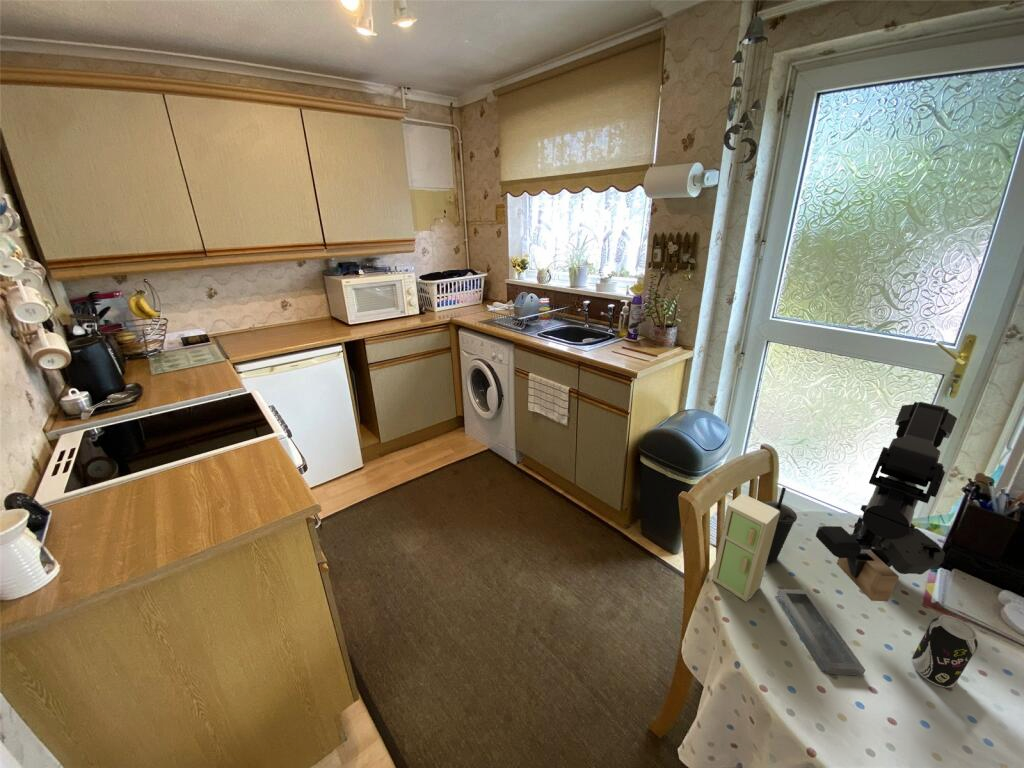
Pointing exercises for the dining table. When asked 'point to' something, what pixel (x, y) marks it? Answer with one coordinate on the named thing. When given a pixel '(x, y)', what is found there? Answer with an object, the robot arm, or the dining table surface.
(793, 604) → the frame
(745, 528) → the toy refrigerator
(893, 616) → the dining table surface
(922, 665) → the beverage can
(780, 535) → the drinking cup
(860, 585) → the wooden block
